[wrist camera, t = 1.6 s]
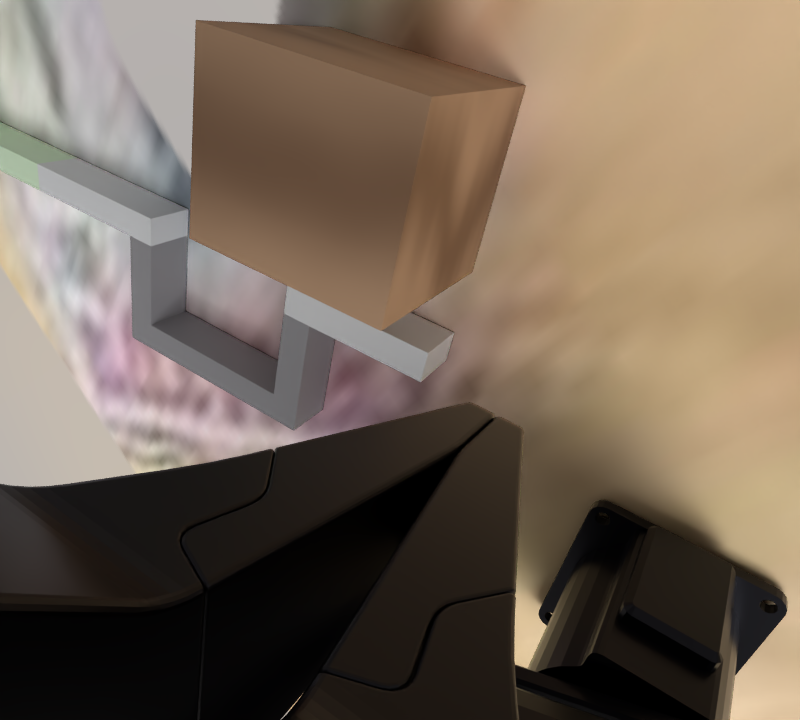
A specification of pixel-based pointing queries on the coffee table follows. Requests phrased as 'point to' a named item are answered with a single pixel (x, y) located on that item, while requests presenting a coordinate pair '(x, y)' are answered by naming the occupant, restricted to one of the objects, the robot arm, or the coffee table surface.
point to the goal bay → (25, 155)
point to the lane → (394, 346)
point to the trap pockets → (226, 341)
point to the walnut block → (344, 163)
